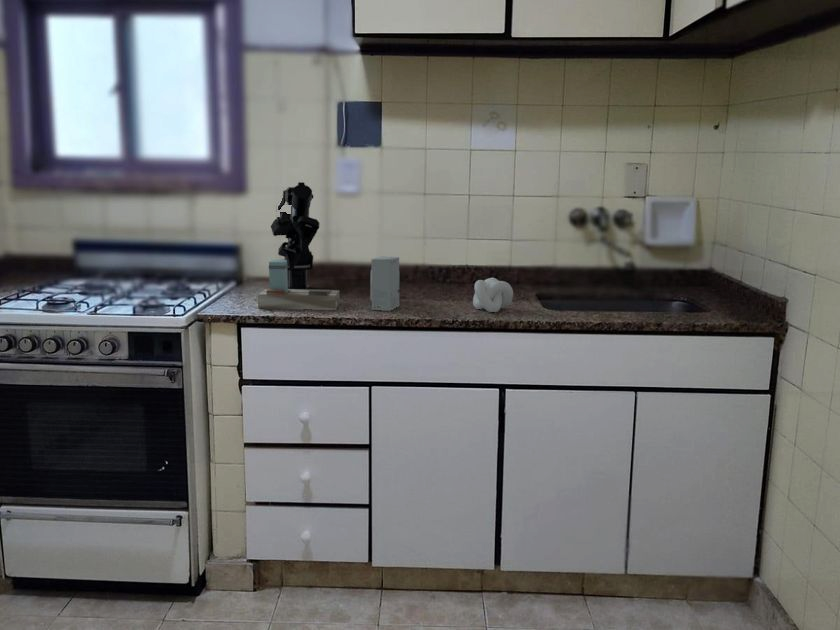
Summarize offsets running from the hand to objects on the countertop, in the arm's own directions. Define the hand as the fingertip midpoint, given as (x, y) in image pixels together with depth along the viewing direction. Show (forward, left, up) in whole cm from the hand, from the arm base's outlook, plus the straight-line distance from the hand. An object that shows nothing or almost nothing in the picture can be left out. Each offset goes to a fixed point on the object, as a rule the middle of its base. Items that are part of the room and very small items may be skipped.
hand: (297, 260), depth 229 cm
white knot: (+10, +58, -12) cm, 60 cm away
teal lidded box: (+10, -4, -11) cm, 16 cm away
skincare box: (+11, +27, -12) cm, 32 cm away
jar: (0, +26, -12) cm, 29 cm away
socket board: (+10, +2, -12) cm, 16 cm away
